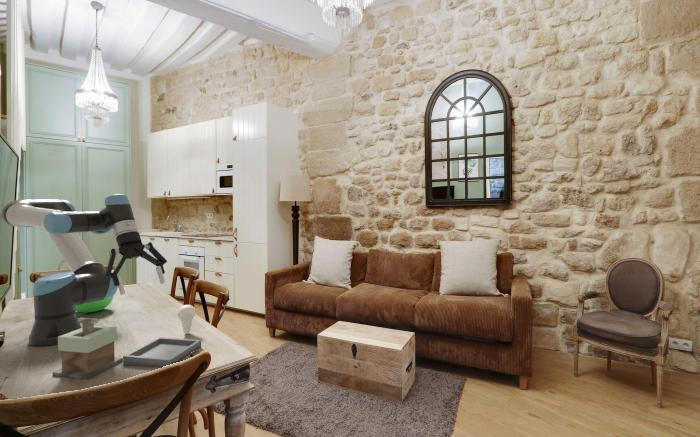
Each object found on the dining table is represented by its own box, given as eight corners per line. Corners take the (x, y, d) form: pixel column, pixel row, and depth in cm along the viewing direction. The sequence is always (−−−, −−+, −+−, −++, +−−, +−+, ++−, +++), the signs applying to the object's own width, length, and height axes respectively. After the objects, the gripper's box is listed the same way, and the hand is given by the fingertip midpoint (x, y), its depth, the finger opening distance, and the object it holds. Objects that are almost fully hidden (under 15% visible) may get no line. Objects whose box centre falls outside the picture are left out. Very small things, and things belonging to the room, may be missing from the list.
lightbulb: (176, 337, 131) (176, 307, 131) (179, 331, 137) (179, 303, 137) (194, 335, 133) (194, 306, 132) (197, 330, 139) (196, 302, 138)
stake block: (52, 375, 102) (50, 324, 101) (90, 357, 113) (88, 311, 113) (88, 379, 100) (86, 326, 99) (122, 360, 111) (121, 313, 111)
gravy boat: (122, 307, 170) (121, 276, 169) (93, 318, 153) (92, 284, 153) (87, 306, 172) (86, 275, 171) (55, 317, 155) (54, 283, 154)
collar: (87, 353, 100) (87, 339, 100) (58, 350, 102) (57, 336, 102) (116, 339, 110) (116, 327, 110) (89, 337, 112) (89, 325, 112)
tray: (123, 364, 109) (123, 356, 109) (159, 344, 125) (159, 337, 125) (169, 368, 106) (169, 360, 106) (201, 347, 122) (201, 340, 122)
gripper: (89, 236, 120) (107, 296, 117) (165, 225, 139) (181, 276, 136) (84, 244, 124) (101, 301, 121) (158, 232, 144) (174, 281, 141)
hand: (143, 288), depth 129 cm, fingers open, 13 cm apart
